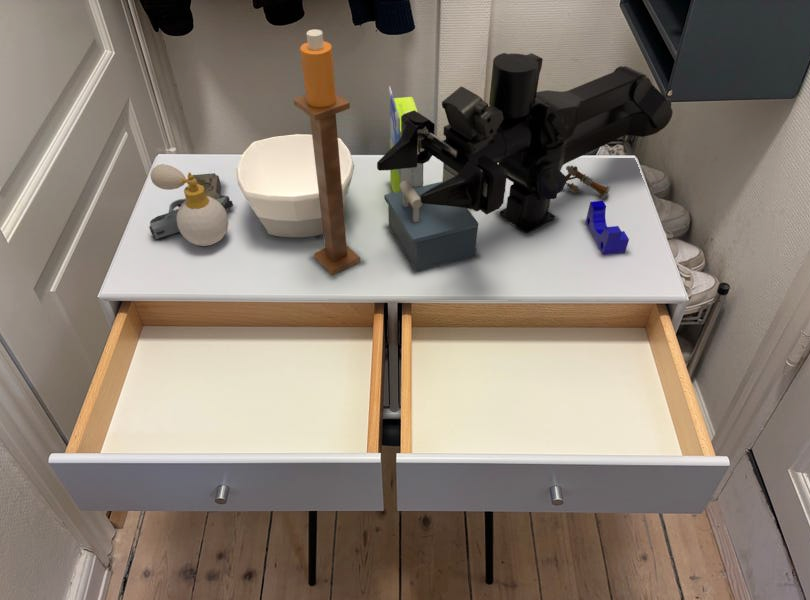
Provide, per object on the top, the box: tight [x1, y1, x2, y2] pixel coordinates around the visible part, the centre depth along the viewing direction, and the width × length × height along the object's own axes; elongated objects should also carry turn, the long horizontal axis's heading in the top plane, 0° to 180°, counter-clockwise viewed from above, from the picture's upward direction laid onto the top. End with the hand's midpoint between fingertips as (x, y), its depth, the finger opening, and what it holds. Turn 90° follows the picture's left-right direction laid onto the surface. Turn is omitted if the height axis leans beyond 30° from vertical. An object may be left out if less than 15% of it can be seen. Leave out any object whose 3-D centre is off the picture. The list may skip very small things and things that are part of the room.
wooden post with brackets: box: [565, 164, 611, 201], centre depth 109 cm, size 2×8×4 cm, turn 72°
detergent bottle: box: [299, 28, 337, 108], centre depth 78 cm, size 4×4×8 cm
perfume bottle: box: [150, 163, 229, 247], centre depth 98 cm, size 8×10×12 cm
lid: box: [383, 180, 479, 244], centre depth 96 cm, size 10×12×5 cm
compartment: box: [387, 204, 479, 273], centre depth 100 cm, size 10×12×5 cm
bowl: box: [236, 133, 355, 238], centre depth 103 cm, size 18×18×9 cm
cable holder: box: [584, 200, 630, 256], centre depth 101 cm, size 8×4×4 cm, turn 8°
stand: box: [293, 93, 361, 276], centre depth 90 cm, size 5×5×25 cm
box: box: [388, 85, 424, 193], centre depth 103 cm, size 10×4×17 cm, turn 9°
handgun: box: [148, 172, 234, 240], centre depth 107 cm, size 2×14×12 cm
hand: (398, 182), depth 84 cm, fingers open, 9 cm apart
